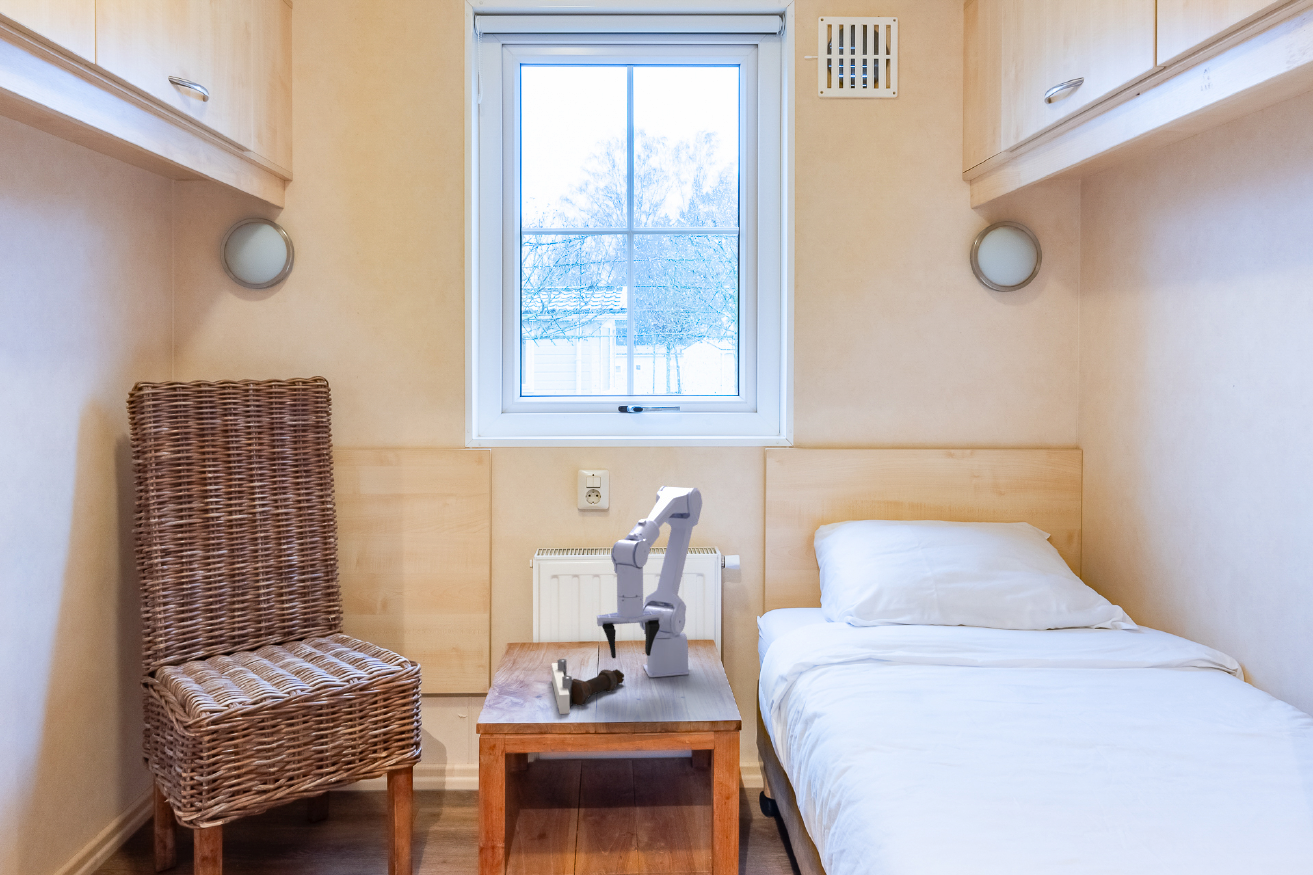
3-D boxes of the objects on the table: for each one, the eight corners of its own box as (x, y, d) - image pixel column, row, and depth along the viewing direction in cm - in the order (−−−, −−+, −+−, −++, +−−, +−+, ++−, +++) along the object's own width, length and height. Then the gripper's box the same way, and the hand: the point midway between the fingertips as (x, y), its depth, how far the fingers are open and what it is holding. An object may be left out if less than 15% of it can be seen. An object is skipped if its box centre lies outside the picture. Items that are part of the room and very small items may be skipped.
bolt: (622, 692, 185) (577, 711, 173) (607, 677, 188) (562, 695, 176) (632, 673, 183) (587, 691, 171) (617, 658, 186) (572, 674, 174)
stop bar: (564, 679, 189) (564, 653, 188) (574, 712, 169) (574, 684, 169) (551, 680, 188) (551, 654, 188) (559, 714, 168) (559, 685, 168)
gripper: (599, 601, 174) (600, 663, 175) (666, 596, 177) (666, 658, 178) (595, 592, 181) (595, 653, 182) (659, 589, 184) (660, 648, 185)
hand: (630, 655), depth 180 cm, fingers open, 7 cm apart
